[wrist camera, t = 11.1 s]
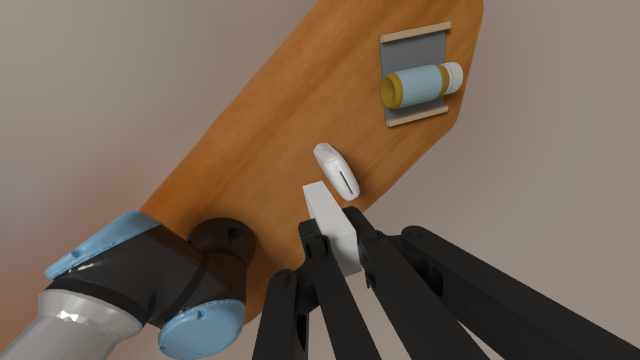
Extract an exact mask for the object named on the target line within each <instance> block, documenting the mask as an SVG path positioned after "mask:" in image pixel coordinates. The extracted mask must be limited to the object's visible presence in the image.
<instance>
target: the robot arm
mask: <svg viewBox="0 0 640 360" xmlns="http://www.w3.org/2000/svg"><path fill="white" fill-rule="evenodd" d="M302 187H303V190H304V194H305V198H306V202H307V206H308V210H309V214H310V218H311V219H310V220H307V221H304V222H301V223H299V226H298V231H299V234H300V238H301V241H302V245H303V248H304V251H305V256H306V258H305V261H304V263H303V264H302V265H301V267H299V268H298V269H296V270H295V271H293V270H290V269H284V270H280V271H278V272H277V273H275V274H274V275H273V276H272V277H271V279H270V281H269V284H268V288H267V293H266V298H265V302H264V307H263V311H262V316H261V321H260V325H259V329H258V334H257V338H256V343H255V347H254V352H253V356H252V360H308V336H309V333H308V332H309V313H310V312H311V311H312V310H313V309H315V308H316V307H318V306H319V305H320V307H321V310H322V313H323V317H324V320H325V323H326V327H327V330H328V333H329V337H330V340H331V344H332V347H333V351H334V354H335V358H336V360H382V359H381V357H380V355H379V352H378V350H377V348H376V346H375V344H374V342H373V339H372V337H371V335H370V333H369V331H368V329H367V326H366V324H365V322H364V320H363V318H362V315H361V313H360V311H359V309H358V307H357V305H356V302H355V300H354V298H353V296H352V294H351V291H350V289H349V287H348V285H347V283H346V280H345V278H344V277H347V276H349V275H352V274H355V273H358V272H360V271H362V267H361V265H362V266H363V268H364V270H365V277H366V283H367V287H368V289H369V288H370V286H371V288H372V290H373V291H374V293H375V295H376V297H377V298H378V300H379V302H380V304H381V306H382V308H383V309H384V311H385V313H386V315H387V316H388V318H389V320H390V322H391V324H392V325H393V327H394V329H395V331H396V333H397V334H398V336H399V338H400V340H401V341H402V343H403V345H404V347H405V349H406V350H407V352H408V354H409V356H410V357H411V359H412V360H490V359H489V358H488V356H487V355H486V354H485V353H484V352H483V350H482V349H481V348H480V347H479V346H478V345H477V343H476V342H475V341H474V340H473V339H472V337H471V336H470V335H469V334H468V333H467V332H466V330H465V329H464V328H463V327H462V326H461V324H460V323H462V324H463V325H464V326H465V327H466V328H468V329H469V330H470V331H471V332H473V333H474V334H475V335H476V336H477V337H479V338H480V339H481V340H482V341H483V342H484V343H486V344H487V345H488V346H489V347H490V348H492V349H493V350H494V351H495V352H496V353H498V354H499V355H500V356H501V357H502V358H504V359H505V360H640V349H639V348H637V347H635V346H633V345H631V344H630V343H628V342H626V341H625V340H623V339H621V338H619V337H617V336H616V335H613V334H612V333H610V332H608V331H607V330H605V329H603V328H601V327H600V326H598V325H596V324H594V323H592V322H591V321H589V320H587V319H585V318H584V317H582V316H580V315H578V314H576V313H575V312H573V311H571V310H569V309H568V308H566V307H564V306H562V305H560V304H559V303H557V302H555V301H553V300H552V299H550V298H548V297H546V296H544V295H543V294H541V293H539V292H537V291H535V290H534V289H532V288H530V287H528V286H527V285H525V284H523V283H521V282H520V281H517V280H516V279H514V278H512V277H510V276H509V275H507V274H505V273H503V272H501V271H500V270H498V269H496V268H495V267H493V266H491V265H489V264H487V263H485V262H484V261H482V260H480V259H479V258H477V257H475V256H473V255H471V254H470V253H468V252H466V251H464V250H463V249H461V248H459V247H457V246H455V245H454V244H452V243H450V242H448V241H446V240H445V239H443V238H441V237H439V236H438V235H436V234H434V233H432V232H431V231H429V230H427V229H425V228H423V227H420V226H408V227H406V228H404V229H403V230H402V232H401V235H396V236H395V235H394V236H387V235H385V234H384V233H382V232H381V231H378V230H375V229H374V228H373V227H372V225H371V224H370V223H369V222H368V220H367V219H366V218H365V217H364V215H363V214H362V213H361V212H360V210H359V209H358V208H356V207H354V206H350V207H347V208H343V209H341V208H340V207H339V205H338V204H337V202H336V201H335V200H334V198H333V197H332V195H331V194H330V192H329V191H328V189H327V188H326V186H325V185H324V183H323V182H322V181H319V182H316V183H312V184H309V185H306V186H302ZM254 254H255V238H254V235H253V233H252V232H251V230H250V229H249V228H248V227H247V226H246V225H244V224H243V223H241V222H239V221H237V220H234V219H229V218H215V219H210V220H207V221H205V222H202V223H201V224H199V225H198V226H196V227H195V228H194V229H193V230H192V231H191V233H190V234H189V236H188V238H187V240H184V239H183V238H181V237H180V236H178V235H177V234H176V233H174V232H173V231H171V230H170V229H168V228H167V227H166V226H164V225H163V223H162V222H158V221H156V220H155V219H153V218H151V217H150V216H148V215H147V214H145V213H143V212H141V211H129V212H127V213H125V214H123V215H122V216H120V217H119V218H117V219H116V220H114V221H113V222H112V223H110V224H109V225H107V226H106V227H104V228H103V229H102V230H100V231H99V232H98V233H96V234H95V235H93V236H92V237H91V238H89V239H88V240H86V241H85V242H84V243H82V244H81V245H80V246H78V247H77V248H75V249H74V250H73V251H71V252H70V253H68V254H67V255H66V256H64V257H63V258H61V259H60V260H59V261H57V262H56V263H54V264H53V265H52V266H50V267H49V268H48V269H47V270H46V271H45V274H46V275H47V276H48V279H50V280H54V281H53V282H52V283H51V284H50V285H49V286H48V287H47V288H46V289H45V290H44V291H43V292H42V293H41V294H40V295H39V297H38V306H39V315H38V316H37V318H36V319H35V320H34V321H33V322H32V323H31V324H30V325H29V326H28V327H27V328H26V329H25V330H24V331H23V332H22V333H21V334H20V335H19V336H18V337H17V338H16V339H15V340H14V341H13V342H12V343H11V344H10V345H9V346H8V347H7V348H6V349H5V350H4V351H3V352H2V353H1V354H0V360H106V359H107V358H108V356H109V355H110V353H111V352H112V351H113V349H114V348H115V346H116V345H117V344H119V343H120V342H121V341H124V340H126V339H128V338H130V337H132V336H134V335H137V334H139V333H140V331H141V330H142V328H143V327H144V326H145V324H146V323H149V324H151V325H153V326H155V327H158V328H160V329H161V330H160V333H159V335H158V340H159V341H158V344H159V346H160V350H161V352H162V353H163V354H165V355H167V356H168V357H171V358H174V359H180V360H194V359H200V358H203V357H208V356H211V355H213V354H216V353H218V352H220V351H222V350H224V349H225V348H227V347H228V346H229V345H231V344H232V343H233V342H234V341H235V340H236V339H237V337H238V336H239V334H240V332H241V330H242V327H243V322H244V315H245V312H246V271H247V269H248V267H249V265H250V263H251V261H252V259H253V257H254ZM369 284H370V286H369ZM456 319H457V320H458V321H459V322H460V323H459V322H458V321H457V320H456Z"/></svg>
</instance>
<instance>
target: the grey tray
mask: <svg viewBox="0 0 640 360" xmlns="http://www.w3.org/2000/svg"><path fill="white" fill-rule="evenodd" d="M449 28H451V21H450V22H445V23H440V24H435V25H430V26H425V27H420V28H415V29H410V30H405V31H401V32H396V33H391V34H386V35H382V36H379V43H380V57H381V70H382V80H383V79H384V77H385V76H386V75H387V74H389V73H393V72H398V71H402V70H407V69H412V68H416V67H421V66H425V65H431V64H437V65H441V64H445V43H446V29H449ZM384 109H385V123H386V126H389V127H391V126H394V125H398V124H402V123H406V122H409V121H413V120H417V119H421V118H424V117H428V116H432V115H436V114H439V113H443V112H447V111H448V106H444V95H442V96H440V97H438V98H437V99H434V100H431V101H426V102H422V103H418V104H414V105H410V106H406V107H402V108H398V109H393V110H392V109H389V108H388V107H386V106H385V105H384Z"/></svg>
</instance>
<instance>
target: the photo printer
mask: <svg viewBox="0 0 640 360" xmlns="http://www.w3.org/2000/svg"><path fill="white" fill-rule="evenodd" d="M313 152H314V155H315V158H316V159H317V161H318V163H319V165H320V166H321V168H322V170H323V171H324V173H325V175H326V176H327V178H328V179H329V181H330V182H331V183H332V185H333V186H334V187H335V189H336V190H337V191H338V193H339V194H340V195H341V197H342V198H343V199H345V200H348V201H350V200H353V199H354V198H356V197H358V195H359V193H360V191H359V186H358V183H357V181H356V179H355V177H354V175H353V173H352V171H351V169H350V168H349V166H348V164H347V163H346V161H345V160H344V158H343V157H342V156H341V155H340V154H339V153H338V152H337V151H336V150H335V149H333V148H332V147H331V146H330V145H329V144H328V143H325V144H324V143H321V144H318V145H317V146H316V147H315V149H314V151H313Z"/></svg>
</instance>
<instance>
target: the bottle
mask: <svg viewBox="0 0 640 360" xmlns="http://www.w3.org/2000/svg"><path fill="white" fill-rule="evenodd" d="M462 81H463V72H462V69H461V67H460V65H459V64H457V63H455V62H450V63H445V64H441V65H437V64H431V65H425V66H421V67H416V68H412V69H407V70H402V71H398V72H393V73H389V74H387V75H386V76H385V77H384V79H383V80H382V83H381V89H380V91H381V98H382V101H383V103H384V105H385V106H386V107H388V108H389V109H392V110H393V109H398V108H402V107H406V106H410V105H414V104H418V103H422V102H426V101H431V100H434V99H437V98H438V97H440V96H442V95H447V94H451V93H454V92H456V91H457V90H458V89H459V88H460V86H461V84H462Z"/></svg>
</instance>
